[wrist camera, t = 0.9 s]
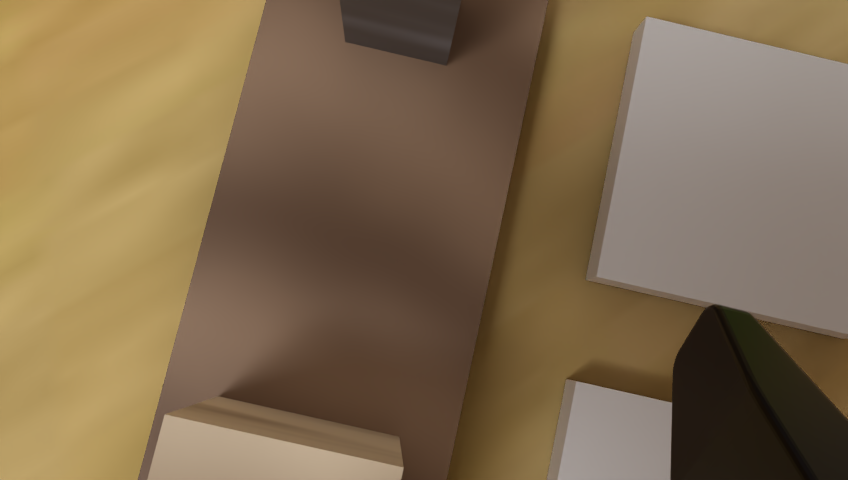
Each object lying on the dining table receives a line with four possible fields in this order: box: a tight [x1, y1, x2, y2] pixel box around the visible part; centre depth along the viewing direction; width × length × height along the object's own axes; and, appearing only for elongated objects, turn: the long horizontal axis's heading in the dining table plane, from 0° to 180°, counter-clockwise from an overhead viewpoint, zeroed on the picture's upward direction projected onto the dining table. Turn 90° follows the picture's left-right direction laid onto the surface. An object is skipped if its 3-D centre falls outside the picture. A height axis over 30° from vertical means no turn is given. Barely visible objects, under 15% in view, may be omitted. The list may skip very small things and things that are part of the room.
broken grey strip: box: [547, 16, 848, 480], centre depth 22 cm, size 19×8×1 cm, turn 167°
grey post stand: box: [138, 0, 548, 480], centre depth 16 cm, size 19×8×13 cm, turn 167°
